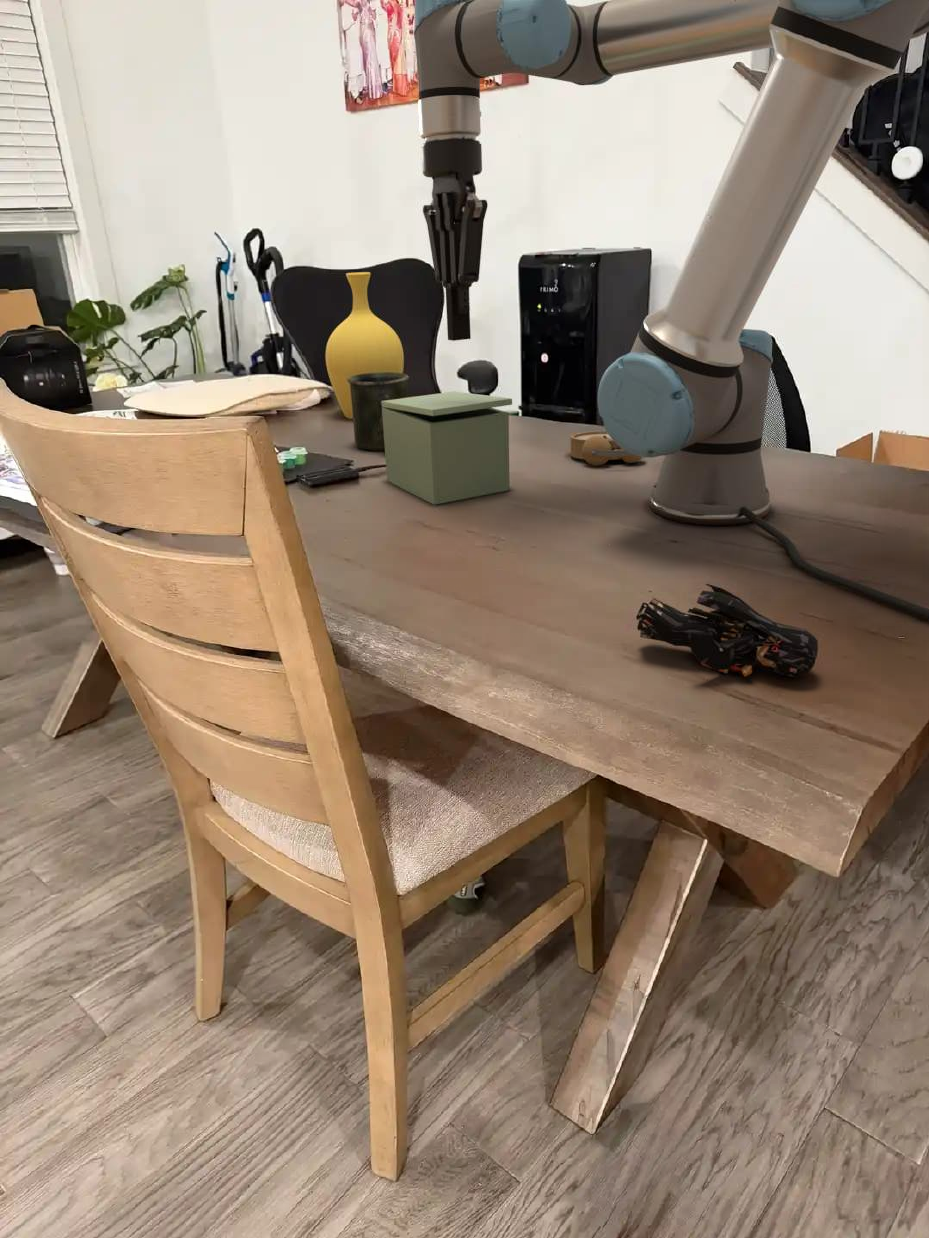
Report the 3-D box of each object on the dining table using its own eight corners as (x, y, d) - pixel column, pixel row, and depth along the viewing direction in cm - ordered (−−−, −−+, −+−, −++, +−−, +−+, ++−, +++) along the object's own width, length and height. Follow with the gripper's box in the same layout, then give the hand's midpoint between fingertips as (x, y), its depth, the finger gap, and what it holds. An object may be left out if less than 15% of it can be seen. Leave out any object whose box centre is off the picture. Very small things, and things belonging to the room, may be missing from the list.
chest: (509, 490, 124) (508, 412, 119) (434, 505, 118) (429, 424, 114) (457, 468, 136) (455, 397, 132) (387, 481, 131) (381, 407, 126)
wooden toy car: (626, 429, 145) (657, 431, 131) (626, 458, 146) (657, 463, 132) (562, 433, 144) (586, 436, 129) (563, 462, 145) (587, 468, 131)
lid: (512, 404, 118) (512, 398, 118) (432, 416, 112) (432, 409, 112) (455, 397, 132) (454, 391, 131) (381, 407, 126) (381, 401, 126)
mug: (408, 436, 159) (404, 370, 154) (419, 453, 146) (415, 383, 141) (350, 440, 157) (345, 374, 152) (357, 458, 144) (350, 387, 139)
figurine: (621, 643, 70) (811, 686, 65) (643, 557, 71) (832, 592, 66) (635, 661, 78) (805, 700, 73) (655, 583, 79) (824, 616, 74)
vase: (373, 405, 190) (363, 270, 178) (422, 412, 179) (415, 270, 168) (315, 417, 179) (300, 275, 168) (364, 426, 169) (352, 275, 157)
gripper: (504, 134, 101) (508, 340, 111) (452, 146, 111) (459, 333, 121) (449, 133, 98) (458, 345, 107) (400, 146, 108) (413, 338, 118)
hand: (459, 339), depth 114 cm, fingers closed
